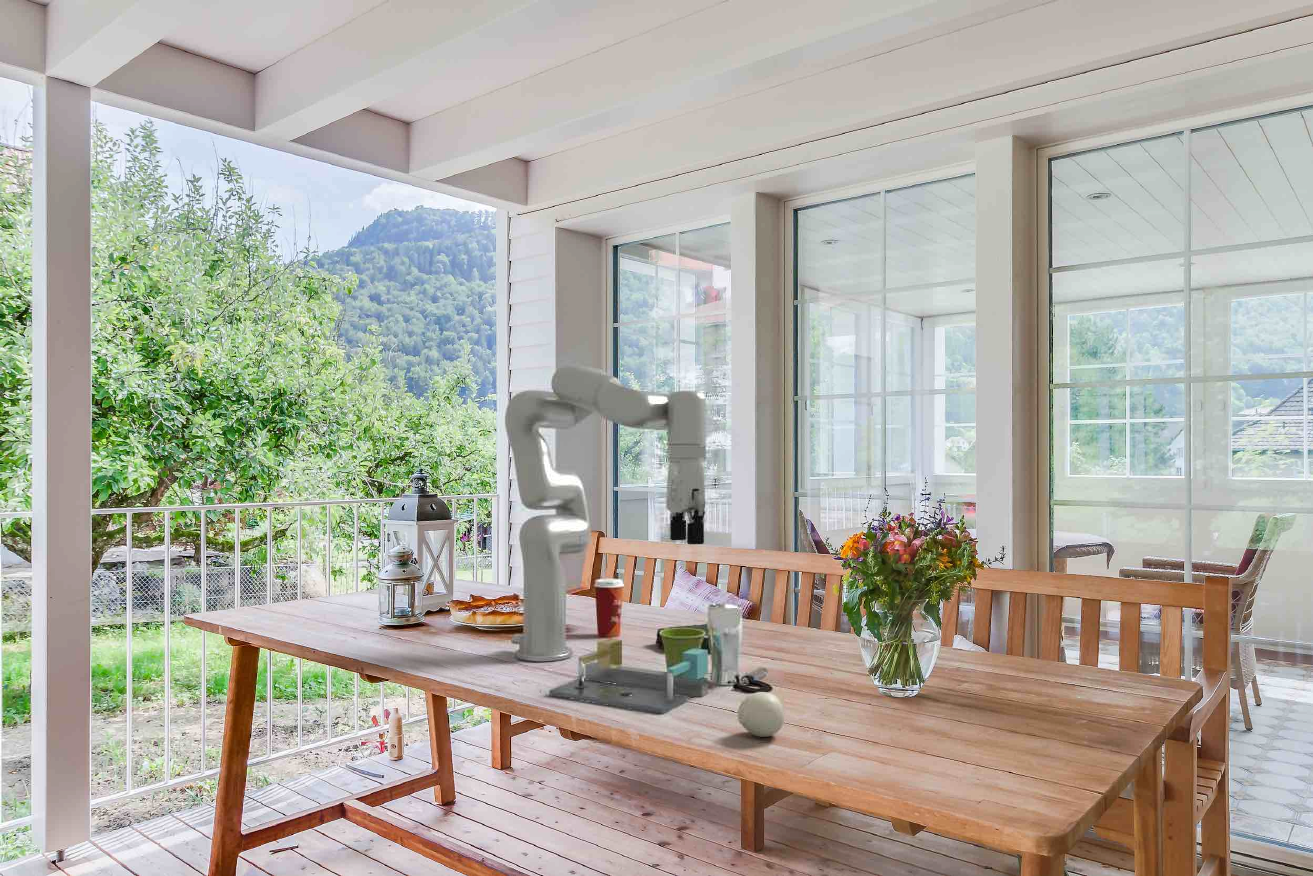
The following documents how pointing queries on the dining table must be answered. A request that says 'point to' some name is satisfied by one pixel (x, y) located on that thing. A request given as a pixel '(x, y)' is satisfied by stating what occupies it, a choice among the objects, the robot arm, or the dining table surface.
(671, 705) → the hole plate
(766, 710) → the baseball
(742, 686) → the black c clamp
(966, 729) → the dining table surface
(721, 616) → the beer glass
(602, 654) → the fixed leg
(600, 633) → the paper cup
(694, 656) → the sliding leg
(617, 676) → the rail
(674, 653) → the plant pot
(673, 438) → the robot arm
